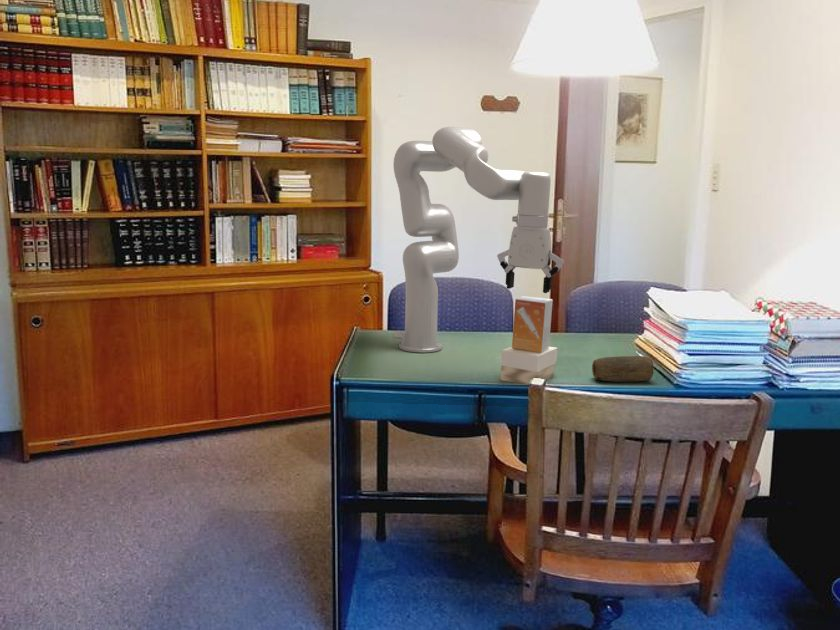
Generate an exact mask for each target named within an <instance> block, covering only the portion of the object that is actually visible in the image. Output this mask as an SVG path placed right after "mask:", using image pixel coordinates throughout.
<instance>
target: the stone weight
mask: <svg viewBox="0 0 840 630" xmlns="http://www.w3.org/2000/svg"><path fill="white" fill-rule="evenodd" d="M591 371H592V372H591V373H592V375H593V378H594V379H595V380H597V381H602V382H613V383H615V382H616V383H620V382H624V383H625V382H626V383H628V382H629V383H630V382H631V383H632V382H635V381H636V382H644V381H650V380H652V378H653V375H654V361H653V360H652V358H651V357H648V356H642V355H641V356H639V355H628V356H627V355H626V356H625V355H624V356H622V355H621V356H607V357H600V358H599V357H598V358H597V359H594V360H593V361H592V365H591Z"/></svg>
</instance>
